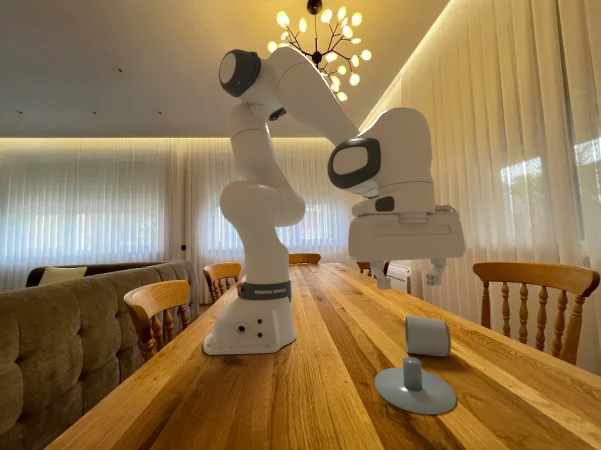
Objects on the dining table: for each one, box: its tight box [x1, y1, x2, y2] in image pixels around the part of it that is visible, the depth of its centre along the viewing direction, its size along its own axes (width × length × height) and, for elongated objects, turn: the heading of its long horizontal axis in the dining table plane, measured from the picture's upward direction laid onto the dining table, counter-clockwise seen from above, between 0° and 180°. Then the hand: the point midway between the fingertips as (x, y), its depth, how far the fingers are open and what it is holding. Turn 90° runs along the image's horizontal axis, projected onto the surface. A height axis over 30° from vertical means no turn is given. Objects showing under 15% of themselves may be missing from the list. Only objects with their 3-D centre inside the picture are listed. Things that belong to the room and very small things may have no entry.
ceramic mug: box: [404, 314, 452, 357], centre depth 55 cm, size 11×8×8 cm
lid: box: [374, 356, 457, 415], centre depth 41 cm, size 12×12×5 cm
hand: (409, 287), depth 42 cm, fingers open, 8 cm apart
